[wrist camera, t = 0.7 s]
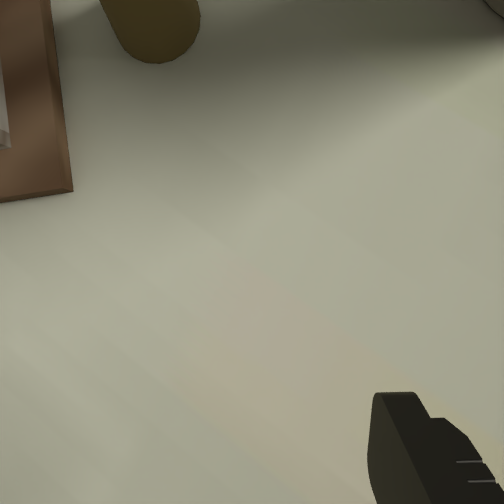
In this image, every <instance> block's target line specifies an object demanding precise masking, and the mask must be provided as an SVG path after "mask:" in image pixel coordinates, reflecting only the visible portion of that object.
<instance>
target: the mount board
mask: <svg viewBox="0 0 504 504" xmlns="http://www.w3.org/2000/svg"><path fill="white" fill-rule="evenodd" d="M67 192H73V184H72V176H71V168H70V160H69V152H68V143H67V135H66V127H65V119H64V111H63V103H62V95H61V87H60V79H59V71H58V63H57V55H56V47H55V39H54V31H53V22H52V14H51V6H50V0H0V203H2V202H9V201H15V200H22V199H28V198H35V197H41V196H48V195H54V194H60V193H67Z"/></svg>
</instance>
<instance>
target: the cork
mask: <svg viewBox="0 0 504 504" xmlns="http://www.w3.org/2000/svg"><path fill="white" fill-rule="evenodd" d="M100 2H101V5H102V7H103V9H104V11H105V13H106V15H107V17H108V19H109V21H110V23H111V26H112V28H113V30H114V32H115V34H116V36H117V38H118V40H119V41H120V43H121V45H122V47H123V48H124V50H126V51H127V52H128V53H129V54H130V55H131V56H132V57H134V58H136V59H138V60H141V61H143V62H145V63H157V64H160V63H164V62H168V61H172V60H174V59H176V58H177V57H179V56H180V55H182V54H184V53H185V52H186V51H187V50H188V48H189V47H190V46H191V45H192V44H193V43H194V40H195V38H196V36H197V33H198V31H199V27H200V17H201V15H200V11H199V6H198V2H197V1H196V0H100Z"/></svg>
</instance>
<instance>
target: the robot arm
mask: <svg viewBox="0 0 504 504" xmlns="http://www.w3.org/2000/svg"><path fill="white" fill-rule="evenodd" d="M485 1H486V2H487V3H488V5H489V6H490V7H491V8H492V9H493V10H494V11H495V12H496V13H498V14H499V15H500V16H502V17H503V18H504V0H485ZM367 463H368V473H369V479H370V483H371V487H372V490H373V493H374V496H375V499H376V502H377V504H504V491H503V490H502V488H501V486H500V485H499V483H497V484H496V482H495V477H494V476H493V474H492V473H491V471H490V470H489V468H488V467H487V465H486V464H483V462H482V458H481V456H480V455H479V453H478V452H477V450H476V449H475V447H474V446H473V444H472V443H471V441H470V440H469V438H468V437H467V436H466V435H465V434H464V433H463V432H461V431H460V430H459V429H458V428H456V427H455V426H454V425H453V424H451V423H450V422H449V421H448V420H446V419H445V418H430V416H429V414H428V413H427V411H426V409H425V408H424V406H423V404H422V403H421V401H420V399H419V397H418V396H417V395H416V393H414V392H381V393H375V395H374V397H373V402H372V412H371V422H370V432H369V442H368V453H367Z"/></svg>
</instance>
